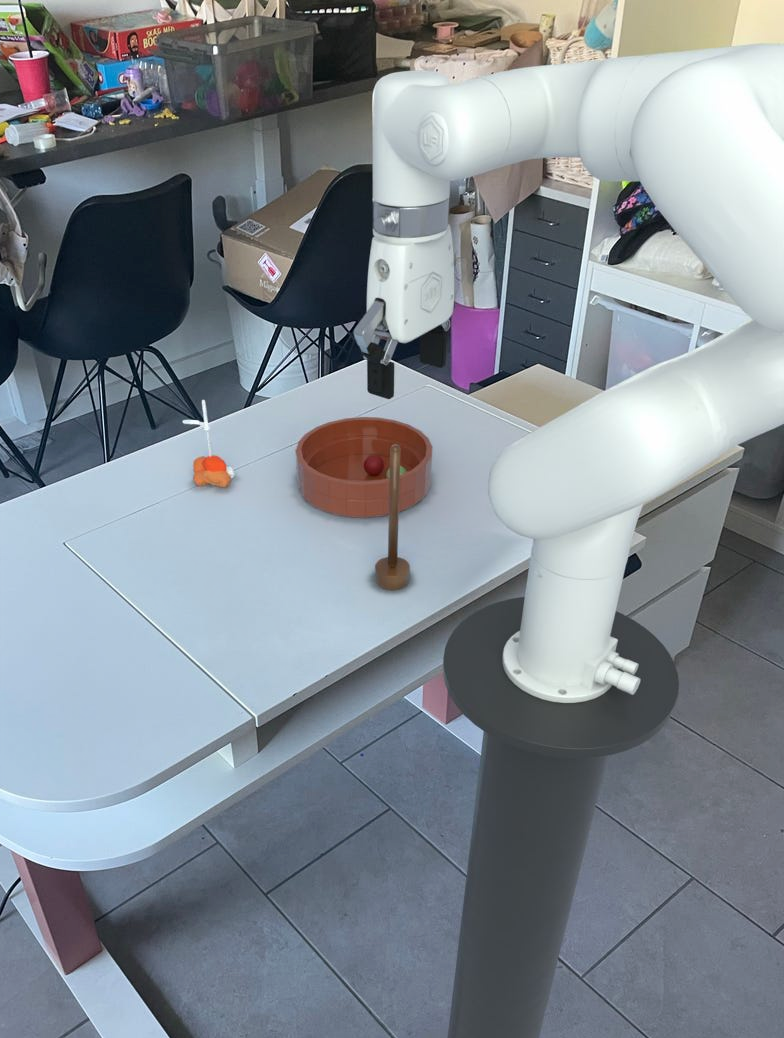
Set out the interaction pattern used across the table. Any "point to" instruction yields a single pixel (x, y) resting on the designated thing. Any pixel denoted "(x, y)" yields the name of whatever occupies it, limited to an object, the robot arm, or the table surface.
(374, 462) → the red bead
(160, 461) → the table surface
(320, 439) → the bowl
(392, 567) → the wooden masher
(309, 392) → the table surface
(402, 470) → the green bead
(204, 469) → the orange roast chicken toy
